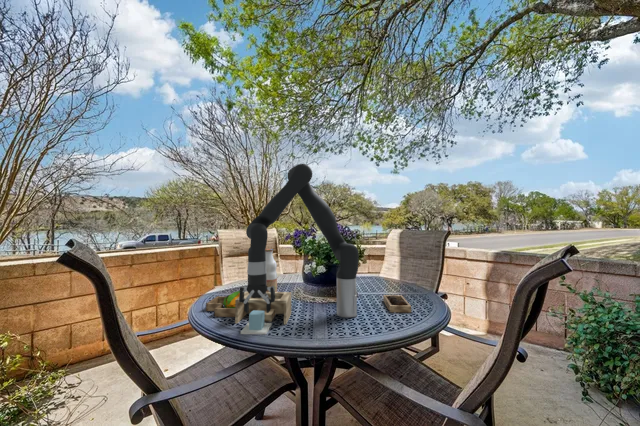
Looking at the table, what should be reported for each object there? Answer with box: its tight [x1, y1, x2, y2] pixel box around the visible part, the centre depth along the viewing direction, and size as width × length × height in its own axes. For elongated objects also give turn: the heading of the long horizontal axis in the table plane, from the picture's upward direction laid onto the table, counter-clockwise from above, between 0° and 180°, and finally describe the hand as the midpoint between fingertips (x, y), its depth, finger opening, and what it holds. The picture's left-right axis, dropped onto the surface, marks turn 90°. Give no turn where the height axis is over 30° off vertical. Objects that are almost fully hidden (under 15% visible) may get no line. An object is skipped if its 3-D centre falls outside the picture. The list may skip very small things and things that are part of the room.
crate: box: [234, 291, 292, 325], centre depth 129 cm, size 22×14×10 cm, turn 87°
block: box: [248, 310, 266, 330], centre depth 116 cm, size 5×5×6 cm
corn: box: [223, 290, 240, 308], centre depth 146 cm, size 7×8×20 cm
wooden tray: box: [383, 294, 412, 313], centre depth 147 cm, size 10×19×3 cm, turn 177°
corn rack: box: [205, 295, 235, 318], centre depth 145 cm, size 28×28×4 cm
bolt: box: [387, 296, 407, 306], centre depth 146 cm, size 6×5×15 cm
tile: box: [240, 322, 273, 336], centre depth 116 cm, size 10×10×1 cm
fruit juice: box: [265, 248, 278, 292], centre depth 158 cm, size 9×9×28 cm
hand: (257, 312), depth 116 cm, fingers open, 8 cm apart
